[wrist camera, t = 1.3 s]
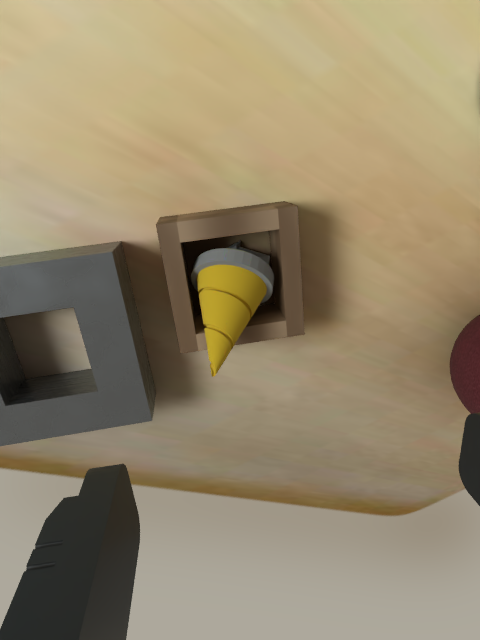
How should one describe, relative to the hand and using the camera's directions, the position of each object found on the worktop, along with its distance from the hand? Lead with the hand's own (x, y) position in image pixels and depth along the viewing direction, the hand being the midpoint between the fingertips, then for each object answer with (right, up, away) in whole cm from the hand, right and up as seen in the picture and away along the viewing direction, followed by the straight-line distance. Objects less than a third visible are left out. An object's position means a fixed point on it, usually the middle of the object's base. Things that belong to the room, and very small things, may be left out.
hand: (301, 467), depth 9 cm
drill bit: (-2, +6, +19) cm, 20 cm away
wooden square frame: (-2, +7, +19) cm, 20 cm away
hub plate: (-15, +2, +19) cm, 24 cm away
